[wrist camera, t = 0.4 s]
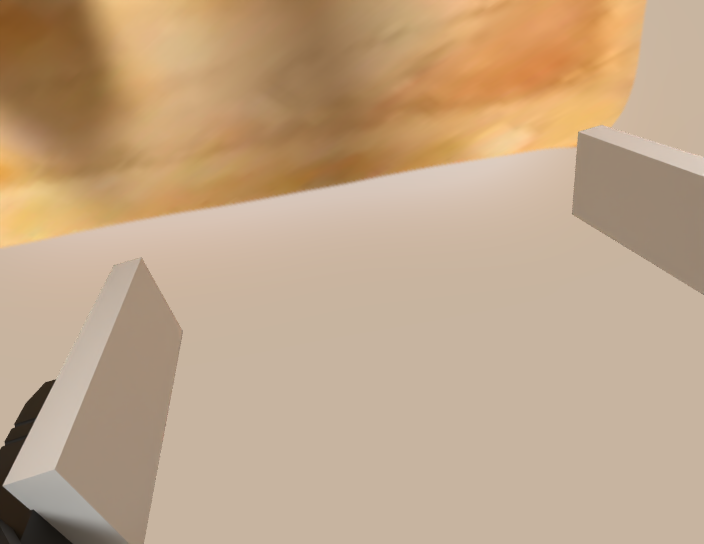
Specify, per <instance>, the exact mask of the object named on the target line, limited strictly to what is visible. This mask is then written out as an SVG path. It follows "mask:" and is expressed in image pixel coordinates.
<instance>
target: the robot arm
mask: <svg viewBox="0 0 704 544" xmlns="http://www.w3.org/2000/svg"><path fill="white" fill-rule="evenodd" d="M572 209H573V210H572V214H573V215H574V216H576V217H577V218H579V219H581V220H582V221H584V222H586V223H587V224H589V225H591V226H592V227H594V228H595V229H597V230H599V231H600V232H602V233H604V234H605V235H607V236H608V237H610V238H612V239H613V240H615V241H617V242H618V243H620V244H622V245H623V246H625V247H626V248H628V249H630V250H631V251H633V252H635V253H636V254H638V255H639V256H641V257H643V258H644V259H646V260H648V261H650V262H651V263H653V264H654V265H656V266H657V267H659V268H661V269H662V270H664V271H666V272H667V273H669V274H671V275H672V276H674V277H675V278H677V279H679V280H680V281H682V282H684V283H685V284H687V285H688V286H690V287H692V288H693V289H695V290H697V291H698V292H700V293H701V294H703V295H704V157H701V156H699V155H696V154H692V153H689V152H686V151H683V150H680V149H677V148H673V147H670V146H667V145H664V144H661V143H657V142H654V141H651V140H648V139H645V138H641V137H638V136H635V135H632V134H629V133H626V132H622V131H619V130H616V129H613V128H610V127H606V126H603V125H600V126H597V127H593V128H590V129H586V130H583V131H579V132H578V142H577V155H576V169H575V182H574V195H573V208H572ZM182 334H183V331H182V329H181V327H180V326H179V324H178V322H177V320H176V319H175V317H174V315H173V313H172V311H171V310H170V308H169V306H168V304H167V302H166V300H165V299H164V297H163V295H162V294H161V291H160V290H159V288H158V286H157V284H156V283H155V281H154V279H153V277H152V275H151V274H150V272H149V270H148V268H147V267H146V265H145V263H144V261H143V259H142V258H137V259H134V260H131V261H127V262H124V263H120V264H117V265H114V266H113V268H112V270H111V272H110V274H109V276H108V278H107V280H106V282H105V284H104V286H103V288H102V290H101V292H100V294H99V296H98V298H97V300H96V302H95V304H94V306H93V308H92V310H91V312H90V314H89V315H88V318H87V319H86V322H85V324H84V325H83V327H82V329H81V331H80V333H79V335H78V338H77V339H76V341H75V343H74V345H73V347H72V349H71V351H70V353H69V355H68V357H67V359H66V361H65V363H64V365H63V367H62V369H61V371H60V373H59V375H58V377H57V379H56V380H52V381H49V382H45V383H44V384H43V385H42V387H41V388H40V389H39V390H38V391H37V392H36V393H35V394H34V395H33V397H31V398H30V399H29V401H28V402H27V403H26V404H25V406H24V408H23V409H22V411H21V413H20V415H19V417H18V418H17V420H16V422H15V428H13V429H11V431H10V433H9V435H8V436H7V438H6V440H5V446H3V447H1V449H0V544H144V539H145V534H146V529H147V523H148V518H149V512H150V507H151V502H152V496H153V491H154V485H155V480H156V474H157V469H158V464H159V458H160V453H161V447H162V442H163V436H164V431H165V426H166V420H167V415H168V409H169V404H170V398H171V393H172V388H173V382H174V376H175V371H176V366H177V361H178V355H179V349H180V344H181V339H182Z"/></svg>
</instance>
